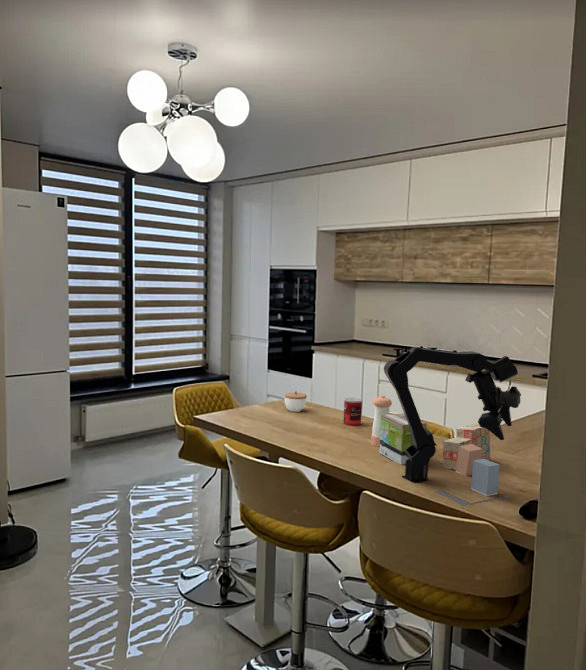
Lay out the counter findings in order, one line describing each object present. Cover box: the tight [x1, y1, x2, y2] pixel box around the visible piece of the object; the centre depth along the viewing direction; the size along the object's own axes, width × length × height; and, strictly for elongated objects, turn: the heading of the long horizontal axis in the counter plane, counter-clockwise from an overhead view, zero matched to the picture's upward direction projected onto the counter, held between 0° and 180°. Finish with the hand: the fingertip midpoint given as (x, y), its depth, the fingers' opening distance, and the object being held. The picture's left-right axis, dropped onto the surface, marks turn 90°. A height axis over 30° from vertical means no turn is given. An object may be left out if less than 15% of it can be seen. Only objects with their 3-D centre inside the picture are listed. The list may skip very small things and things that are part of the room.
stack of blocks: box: [442, 423, 491, 471], centre depth 196 cm, size 21×6×12 cm, turn 134°
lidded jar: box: [284, 390, 307, 413], centre depth 272 cm, size 11×11×9 cm
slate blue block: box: [470, 459, 500, 497], centre depth 168 cm, size 4×6×9 cm
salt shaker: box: [370, 395, 393, 447], centre depth 217 cm, size 7×7×19 cm
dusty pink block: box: [454, 444, 483, 477], centre depth 185 cm, size 4×6×9 cm
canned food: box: [343, 397, 363, 427], centre depth 250 cm, size 8×8×11 cm
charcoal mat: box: [434, 489, 510, 507], centre depth 166 cm, size 18×12×1 cm, turn 117°
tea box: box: [379, 413, 428, 465], centre depth 200 cm, size 15×10×15 cm
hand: (506, 432), depth 178 cm, fingers open, 9 cm apart
